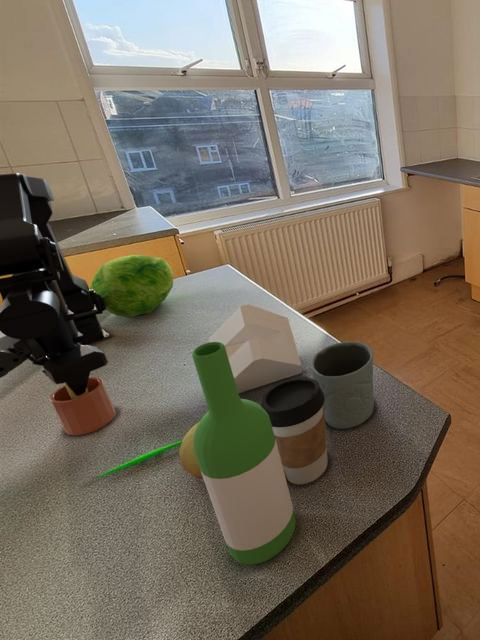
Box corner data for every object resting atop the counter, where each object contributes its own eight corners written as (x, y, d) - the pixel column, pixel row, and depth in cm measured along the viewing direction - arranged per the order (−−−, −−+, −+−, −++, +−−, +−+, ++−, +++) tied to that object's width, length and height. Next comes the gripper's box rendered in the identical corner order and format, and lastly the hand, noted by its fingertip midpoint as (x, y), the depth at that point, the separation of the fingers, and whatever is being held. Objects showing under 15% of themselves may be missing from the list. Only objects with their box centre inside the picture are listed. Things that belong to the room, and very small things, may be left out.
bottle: (217, 569, 53) (142, 371, 42) (252, 511, 60) (196, 328, 49) (280, 569, 53) (222, 372, 42) (307, 511, 61) (264, 329, 49)
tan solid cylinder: (71, 402, 73) (53, 363, 70) (88, 394, 75) (71, 356, 72) (76, 407, 72) (58, 368, 69) (93, 399, 74) (76, 360, 71)
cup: (59, 426, 74) (43, 393, 72) (106, 403, 80) (93, 372, 77) (74, 441, 71) (58, 408, 69) (122, 416, 77) (109, 385, 74)
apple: (274, 448, 71) (264, 410, 68) (219, 498, 62) (205, 457, 59) (229, 433, 74) (218, 395, 71) (171, 478, 65) (155, 438, 62)
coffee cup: (315, 497, 63) (297, 416, 57) (264, 486, 64) (242, 406, 58) (346, 452, 70) (333, 377, 65) (300, 443, 72) (284, 369, 66)
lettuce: (106, 295, 116) (179, 289, 125) (85, 334, 98) (172, 324, 107) (97, 244, 112) (173, 241, 120) (74, 276, 94) (165, 270, 102)
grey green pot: (341, 389, 84) (333, 337, 80) (389, 397, 82) (383, 345, 78) (309, 427, 75) (297, 371, 70) (361, 437, 73) (353, 380, 69)
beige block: (226, 404, 85) (210, 373, 71) (215, 354, 89) (198, 315, 75) (302, 379, 92) (300, 346, 78) (289, 334, 96) (285, 295, 83)
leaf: (90, 480, 64) (88, 476, 64) (201, 433, 73) (200, 430, 73) (90, 484, 64) (88, 480, 63) (202, 437, 72) (201, 433, 72)
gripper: (-56, 317, 65) (-10, 399, 71) (-19, 356, 56) (30, 445, 62) (46, 289, 74) (79, 364, 80) (91, 318, 65) (124, 400, 71)
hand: (77, 391), depth 73 cm, fingers closed on tan solid cylinder, 2 cm apart
